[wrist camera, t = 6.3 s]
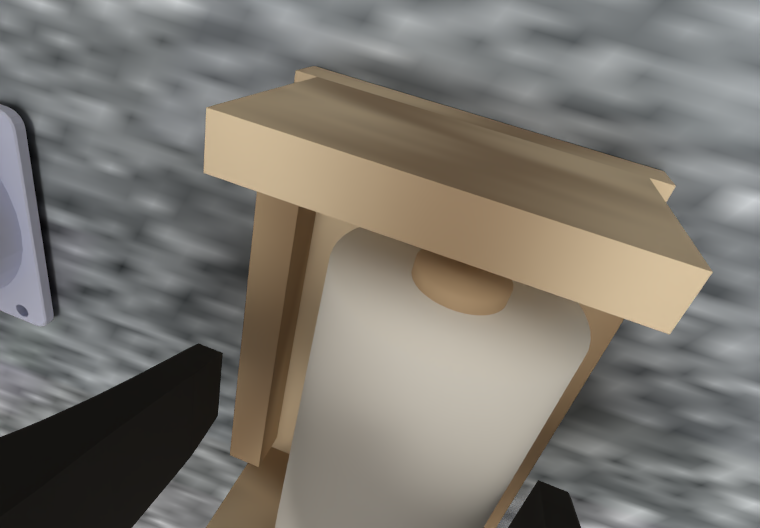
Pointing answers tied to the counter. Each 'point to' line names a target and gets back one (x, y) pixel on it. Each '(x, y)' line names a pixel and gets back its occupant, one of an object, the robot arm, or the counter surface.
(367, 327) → the paper roll
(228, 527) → the holder
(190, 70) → the counter surface
